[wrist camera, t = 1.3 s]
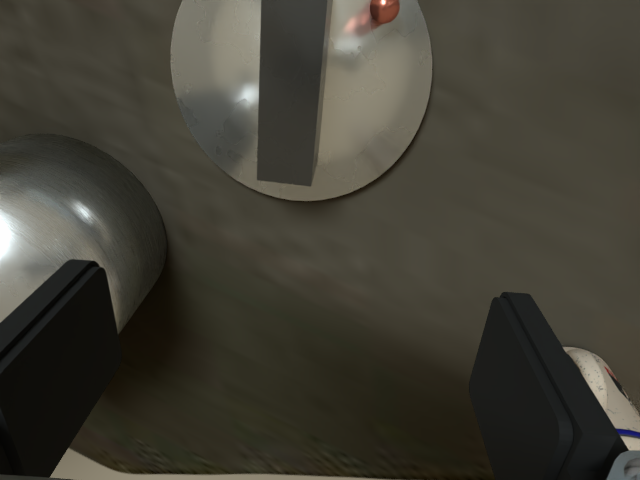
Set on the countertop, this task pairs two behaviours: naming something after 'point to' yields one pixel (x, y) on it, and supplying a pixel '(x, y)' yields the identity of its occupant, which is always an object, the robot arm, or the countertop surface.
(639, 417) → the teacup with lid
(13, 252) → the pot
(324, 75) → the lid
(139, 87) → the countertop surface
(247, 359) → the countertop surface
